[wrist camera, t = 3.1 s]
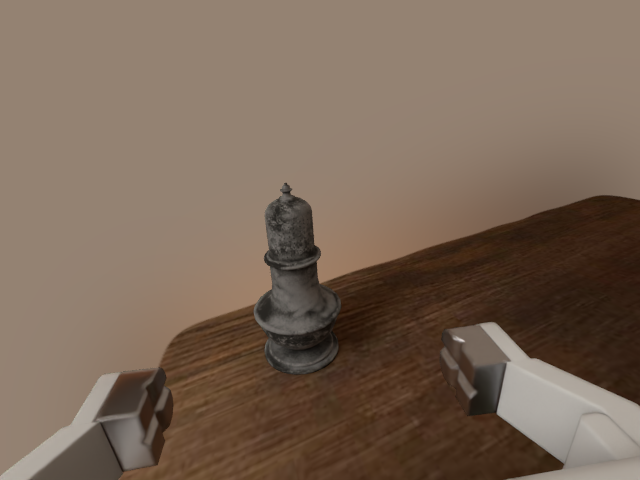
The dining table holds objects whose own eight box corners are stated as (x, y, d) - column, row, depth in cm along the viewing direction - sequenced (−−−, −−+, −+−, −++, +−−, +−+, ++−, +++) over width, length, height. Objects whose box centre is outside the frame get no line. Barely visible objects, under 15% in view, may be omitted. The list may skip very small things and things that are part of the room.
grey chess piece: (358, 337, 25) (355, 176, 20) (308, 392, 21) (290, 204, 16) (296, 312, 29) (281, 167, 24) (243, 355, 24) (211, 189, 20)
